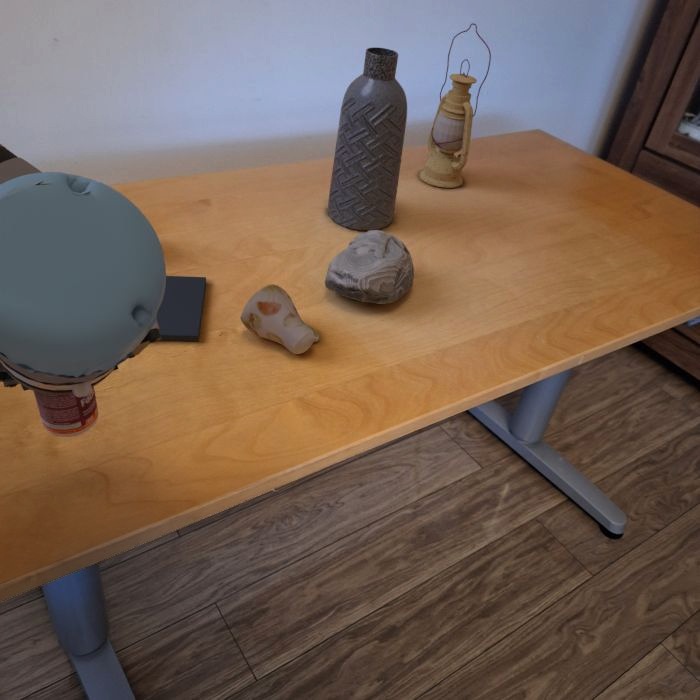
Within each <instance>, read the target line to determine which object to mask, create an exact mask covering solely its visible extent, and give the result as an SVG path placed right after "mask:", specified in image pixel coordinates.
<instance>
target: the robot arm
mask: <svg viewBox="0 0 700 700" xmlns="http://www.w3.org/2000/svg"><path fill="white" fill-rule="evenodd" d="M166 276H167V266H166V260H165V256H164V251H163V248H162V244H161V241H160V239H159V237H158V234H157V232H156V230H155V228H154V227H153V225H152V224H151V222H150V220H149V219H148V217H146V215H145V214H144V213H143V211H141V209H140V208H139V207H138V206H137V205H135V204H134V203H133V202H132V201H131V200H130V199H129V198H128V197H126V196H125V195H124V194H123V193H121V192H120V191H118V190H117V189H114V188H113V187H112V186H109V184H106V183H103V182H101V181H97V180H95V179H92V178H89V177H84V176H81V175H77V174H72V173H71V174H69V173H64V172H60V171H41V170H40V169H38V168H37V167H36V166H34V165H33V164H31V163H30V162H28V161H27V160H26V159H24V158H22V157H18V155H16V154H14V153H13V152H12V151H11V150H9V149H8V148H7V147H6V146H5V145H3V144H1V143H0V383H3V387H4V388H14V387H17V386H18V385H20V386H21V388H22V390H23V391H25V392H26V391H33V392H34V391H36V392H39V393H42V394H47V395H59V396H61V395H72V394H74V395H75V396H77V397H86V396H89V395H90V394H91V392H92V391H93V390H92V387H94V388H95V387H96V386H98V385H99V384H100V383H102V382H103V381H105V379H106V378H108V377H109V375H110V374H112V372H114V371H117V370H119V367H118V366H119V365H120V364H122V363H124V362H126V361H127V360H128V359H133V358H135V357H136V356H138V355H140V354H141V353H142V352H144V350H145V349H146V348H147V347H148V346H149V345H150V344H154V343H157V342H159V341H158V340H160V339H162V338H161V334H160V331H159V327H158V323H157V311H158V309H159V307H160V305H161V302H162V300H163V296H164V292H165V285H166Z"/></svg>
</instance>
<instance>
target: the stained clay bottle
mask: <svg viewBox="0 0 700 700" xmlns="http://www.w3.org/2000/svg"><path fill="white" fill-rule="evenodd" d="M240 321H241V322H242V324H243V326H244V327H245V328H246V329H247V330H248V331H250V332H251V333H252V334H254V335H256V336H257V337H260V338H263V339H265V340H269V341H273V342H276V343H278V344H280V345H282V346H283V347H285V348H286V349H287V350H288V351H289V352H291V353H292V354H294V355H300V354H303V353H305V352H307V351H308V350H309V349H310V348H311V347H312V345H313V344H314V343H317V342H318V341H319V339H320V334H319V333H318V332H317V329H315V328H313V327H311V326H310V325H309V324H307V323H305V321H304V320H303V319H302V318H301V316H300V313H299V312H298V309H297V308H296V305H295V304H294V301H293V300H292V297H291V296H290V295H289V293H288V292H287V291H286V290H285V289H284V288H282V287H281V286H279V285H278V284H274V283H271V284H267V285H265V286H264V287H261V288H260V289H258V290H257V291H256V292H255V293H254V294H253V295H252V296H251V297H250V298H249V299H248V301H247V302H246V304H245V306H244V307H243V310H242V312H241V314H240Z"/></svg>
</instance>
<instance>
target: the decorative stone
mask: <svg viewBox="0 0 700 700" xmlns="http://www.w3.org/2000/svg"><path fill="white" fill-rule="evenodd" d="M414 267H415V266H414V263H413V258H412V255H411V252H410V251H409V249H408V248H407V246H406V244H405V243H404V242H403V241H402V240H400V239H399V238H398V237H397V236H395V235H394V234H391V233H388V232H387V231H384V230H381V229H377V230H367V231H366V232H363V233H359V234H357V235H356V236H355V237H354V238H353V239H352V240H351V241H349V243H348V245H347V246H346V248H344V249H343V250H341V251H340V252H338V253H337V254H336V255H335V257H333V258H332V260H331V262H330V263H329V264H328V267H327V271H326V272H327V273H326V275H325V280H324V285H325V287H326V288H327V289H328V290H330V291H332V292H335V293H336V294H338V295H340V296H343V297H345V298H348V299H352V300H354V301H357V302H361V303H372V304H378V305H384V304H391V303H395V302H396V301H399V299H401V298H402V296H403V295H405V294H406V293H407V292H408V291H409V290H410V289H411V288H412V286H413V285H414V278H415V277H414V276H415V268H414Z"/></svg>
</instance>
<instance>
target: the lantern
mask: <svg viewBox="0 0 700 700" xmlns="http://www.w3.org/2000/svg"><path fill="white" fill-rule="evenodd" d="M472 26H475V33H476V35H477V37H479V39H480V40H481V41H482V42H483V44H484V45H485V47H486V48H487V50H488V54H489V61H488V66H487V70H486V74H485V76H484V79H483V81H482V82H481V84H480V86H479V88H478V93H477V96H476V102H475V109H474V110H473V106H472V103H471V98H472V94H471V93H470V89H472V85H473V84H476V83H477V82H478V80H477V78H475V77H474V76H471V75H469V72H470V69H471V65H470V61H469V60H468V59H467V58H465V59H463V60H462V62H461V64H460V70H459V73H451V74H449V79H450V80H451V85H452V88H451V89H449V90H448V91H447V92H446V93H445V94H444V95H443V96H442V91H443V89H444V87H445V85H446V83H447V80H448V79H447V78H448V71H449V65H450V64H449V62H450V55H451V51H452V47H453V44H454V40H455V38H457V36H459V35H461V34H463V33H467V32H469V30H470V29H471V27H472ZM491 53H492V52H491V50H490V48H489V46H488V44H487V43H486V41H485V40H484V39H483V38H482V37H481V36H480V34H479V33H478V26H477V24H476V23H475V22H474V23H470V25H469V26H468V28H467V29H466V30H463V31H460V32H459V33H457V34H456V35H454V37H453V38H452V40H451V44H450V47H449V51H448V54H447V66H446V67H447V68H446V72H445V78H444V79H445V80H444V82H443V84H442V87H441V89H440V92H439V104H438V107H437V111H436V113H435V116H434V120H433V121H432V122H433V123H432V126H431V129H430V131H429V132H430V133H429V136H428V140H427V141H428V142H427V149H428V152H429V154H430V157H429V158H428V159H427V160H426V161H425V164H424V169H422V170H421V171H420V172H419V178H420V180H421V181H422V182H424V183H425V184H428V185H430V186H433V187H437V188H446V189H451V188H452V189H454V188H458V187H460V186H462V185H463V182H464V181H463V177H462V171H463V169H464V168H465V167H466V165H467V163H468V160H469V159H468V158H469V151H470V144H471V136H472V128H473V127H472V126H473V120H474V119H473V117H475V115H476V112H477V108H478V102H479V101H478V100H479V95H480V93H481V89H482V86H483V84H484V83H485V81H486V79H487V77H488V74H489V72H490V71H489V70H490V66H491V60H492V54H491ZM465 61H467V63H468V70H467V72H462V68H463V64H464V62H465ZM459 152H460V153H459ZM456 153H459V154H458V155H455V154H456Z"/></svg>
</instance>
